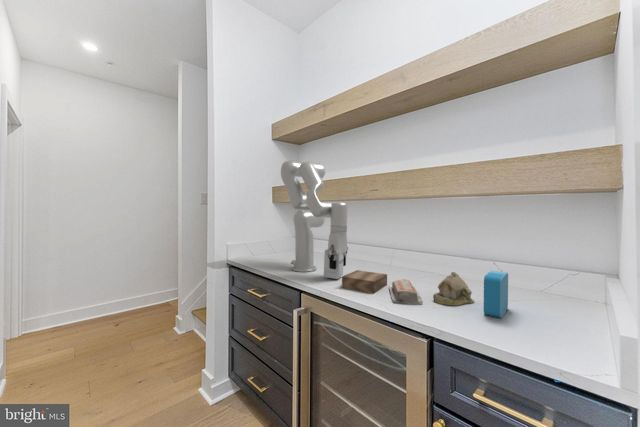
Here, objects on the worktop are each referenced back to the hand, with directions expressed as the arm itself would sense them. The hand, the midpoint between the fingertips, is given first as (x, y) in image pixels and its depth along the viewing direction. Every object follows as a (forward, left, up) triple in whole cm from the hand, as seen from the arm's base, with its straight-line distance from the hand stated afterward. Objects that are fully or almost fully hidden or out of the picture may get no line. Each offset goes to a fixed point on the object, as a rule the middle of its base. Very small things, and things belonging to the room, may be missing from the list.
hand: (337, 266), depth 126 cm
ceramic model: (+49, -2, -6) cm, 49 cm away
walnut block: (+16, -4, -6) cm, 17 cm away
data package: (+62, -6, -6) cm, 62 cm away
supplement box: (-2, 0, -5) cm, 5 cm away
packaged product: (+33, -7, -6) cm, 34 cm away
